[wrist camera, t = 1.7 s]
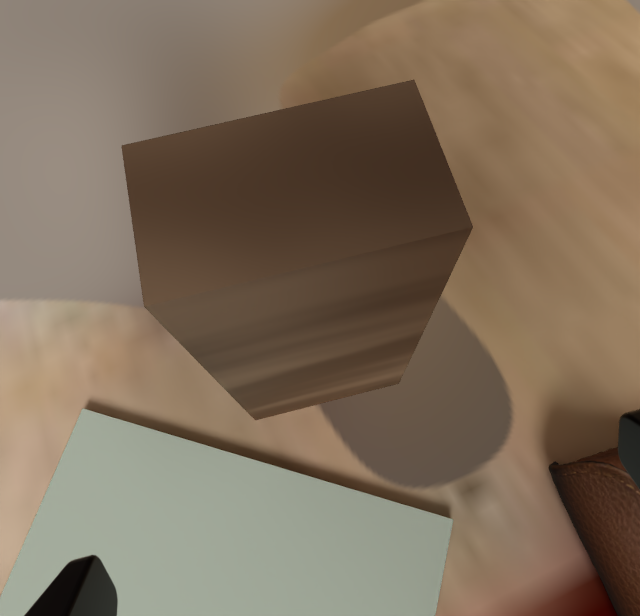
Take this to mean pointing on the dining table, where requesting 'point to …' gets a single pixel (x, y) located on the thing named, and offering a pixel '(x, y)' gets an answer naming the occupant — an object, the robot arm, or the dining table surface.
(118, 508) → the mat
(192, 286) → the brown wooden block
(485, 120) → the dining table surface
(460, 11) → the dining table surface
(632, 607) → the sunglasses case
